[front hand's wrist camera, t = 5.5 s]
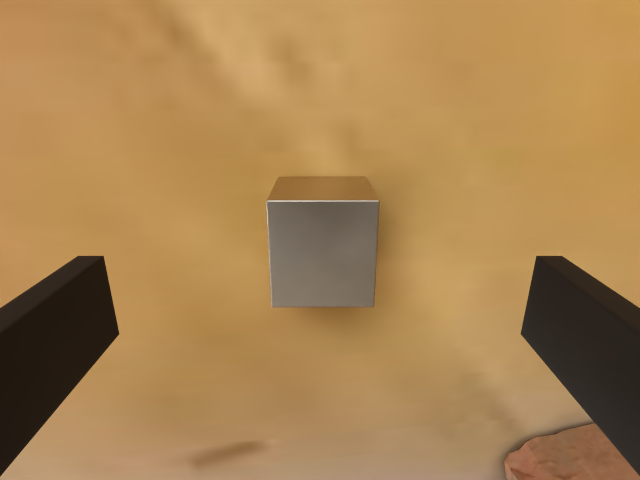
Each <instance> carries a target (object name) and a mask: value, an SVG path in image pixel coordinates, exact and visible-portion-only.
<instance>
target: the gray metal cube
mask: <svg viewBox="0 0 640 480" xmlns="http://www.w3.org/2000/svg"><path fill="white" fill-rule="evenodd" d="M266 204H267V225H268V246H269V267H270V287H271V306H272V307H374V299H375V280H376V260H377V240H378V221H379V199H378V197H377V196H376V194H375V192H374V190H373V189H372V187H371V185H370V183H369V182H368V180H367V178H366V177H278V179H277V181H276V183H275V185H274V187H273V189H272V191H271V193H270V195H269V197H268V199H267V201H266Z"/></svg>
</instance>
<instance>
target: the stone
mask: <svg viewBox="0 0 640 480" xmlns="http://www.w3.org/2000/svg"><path fill="white" fill-rule="evenodd" d="M504 464H505V473H506V478H507V480H640V476H639V475H638V474H637V472H636V471H635V470H634V469H633V468H632V467H631V465H630V464H629V463H628V462H627V461H626V459H625V458H624V457H623V456H622V455H621V453H620V452H619V451H618V450H617V449H616V447H615V446H614V445H613V444H612V443H611V441H610V440H609V439H608V438H607V437H606V435H605V434H604V433H603V432H602V431H601V429H600V428H599V427H598V426H597V425H596V423H593V424H589V425H585V426H580V427H576V428H571V429H567V430H563V431H561V432H559V433H557V434H554V435H547V436H541V437H535V438H533V439H531V440H529V441H527V442H526V443H525V444H524V445H523V446H522V447H521V448H520V449H519V450H518V451H514V452H511V453H509V454H508V456H507V457H506V459H505V461H504Z"/></svg>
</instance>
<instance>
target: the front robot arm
mask: <svg viewBox="0 0 640 480" xmlns="http://www.w3.org/2000/svg"><path fill="white" fill-rule="evenodd" d="M118 335H119V330H118V325H117V321H116V316H115V311H114V306H113V301H112V296H111V291H110V286H109V281H108V276H107V271H106V266H105V261H104V256H77V257H76V258H74V259H73V260H71V261H70V262H68V263H67V264H66V265H64V266H63V267H61V268H60V269H58V270H57V271H55V272H54V273H52V274H51V275H49V276H48V277H46V278H45V279H43V280H42V281H40V282H39V283H37V284H36V285H34V286H33V287H31V288H30V289H28V290H27V291H25V292H24V293H22V294H21V295H19V296H18V297H16V298H15V299H13V300H12V301H10V302H9V303H7V304H6V305H4V306H3V307H1V308H0V476H1V475H2V474H3V472H4V471H5V470H6V469H7V468H8V467H9V465H10V464H11V463H12V462H13V461H14V459H15V458H16V457H17V456H18V455H19V453H20V452H21V451H22V450H23V449H24V447H25V446H26V445H27V444H28V443H29V441H30V440H31V439H32V438H33V437H34V435H35V434H36V433H37V432H38V431H39V429H40V428H41V427H42V426H43V425H44V423H45V422H46V421H47V420H48V419H49V417H50V416H51V415H52V414H53V413H54V411H55V410H56V409H57V408H58V407H59V405H60V404H61V403H62V402H63V401H64V400H65V398H66V397H67V396H68V395H69V394H70V392H71V391H72V390H73V389H74V388H75V386H76V385H77V384H78V383H79V382H80V380H81V379H82V378H83V377H84V376H85V374H86V373H87V372H88V371H89V370H90V368H91V367H92V366H93V365H94V364H95V362H96V361H97V360H98V359H99V358H100V356H101V355H102V354H103V353H104V352H105V350H106V349H107V348H108V347H109V346H110V344H111V343H112V342H113V341H114V340H115V338H116V337H117V336H118ZM521 335H522V336H523V337H524V338H525V340H526V341H527V342H528V343H529V344H530V346H531V347H532V348H533V349H534V350H535V352H536V353H537V354H538V355H539V356H540V358H541V359H542V360H543V361H544V362H545V364H546V365H547V366H548V367H549V368H550V370H551V371H552V372H553V373H554V374H555V376H556V377H557V378H558V379H559V380H560V382H561V383H562V384H563V385H564V386H565V388H566V389H567V390H568V391H569V392H570V394H571V395H572V396H573V397H574V398H575V400H576V401H577V402H578V403H579V404H580V405H581V407H582V408H583V409H584V410H585V411H586V413H587V414H588V415H589V416H590V417H591V419H592V420H593V421H594V422H595V423H596V425H597V426H598V427H599V428H600V429H601V431H602V432H603V433H604V434H605V435H606V437H607V438H608V439H609V440H610V441H611V443H612V444H613V445H614V446H615V447H616V449H617V450H618V451H619V452H620V453H621V455H622V456H623V457H624V458H625V459H626V461H627V462H628V463H629V464H630V465H631V467H632V468H633V469H634V470H635V471H636V472H637V474H638V475H639V476H640V308H639V307H637V306H636V305H634V304H633V303H631V302H630V301H628V300H627V299H625V298H624V297H622V296H621V295H619V294H618V293H616V292H615V291H613V290H612V289H610V288H609V287H607V286H606V285H604V284H603V283H601V282H600V281H598V280H597V279H595V278H594V277H592V276H591V275H589V274H588V273H586V272H585V271H583V270H582V269H580V268H579V267H577V266H576V265H574V264H573V263H572V262H570V261H569V260H567V259H566V258H564V257H563V256H536V261H535V266H534V271H533V276H532V281H531V286H530V291H529V296H528V301H527V306H526V311H525V316H524V321H523V325H522V330H521Z"/></svg>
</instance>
